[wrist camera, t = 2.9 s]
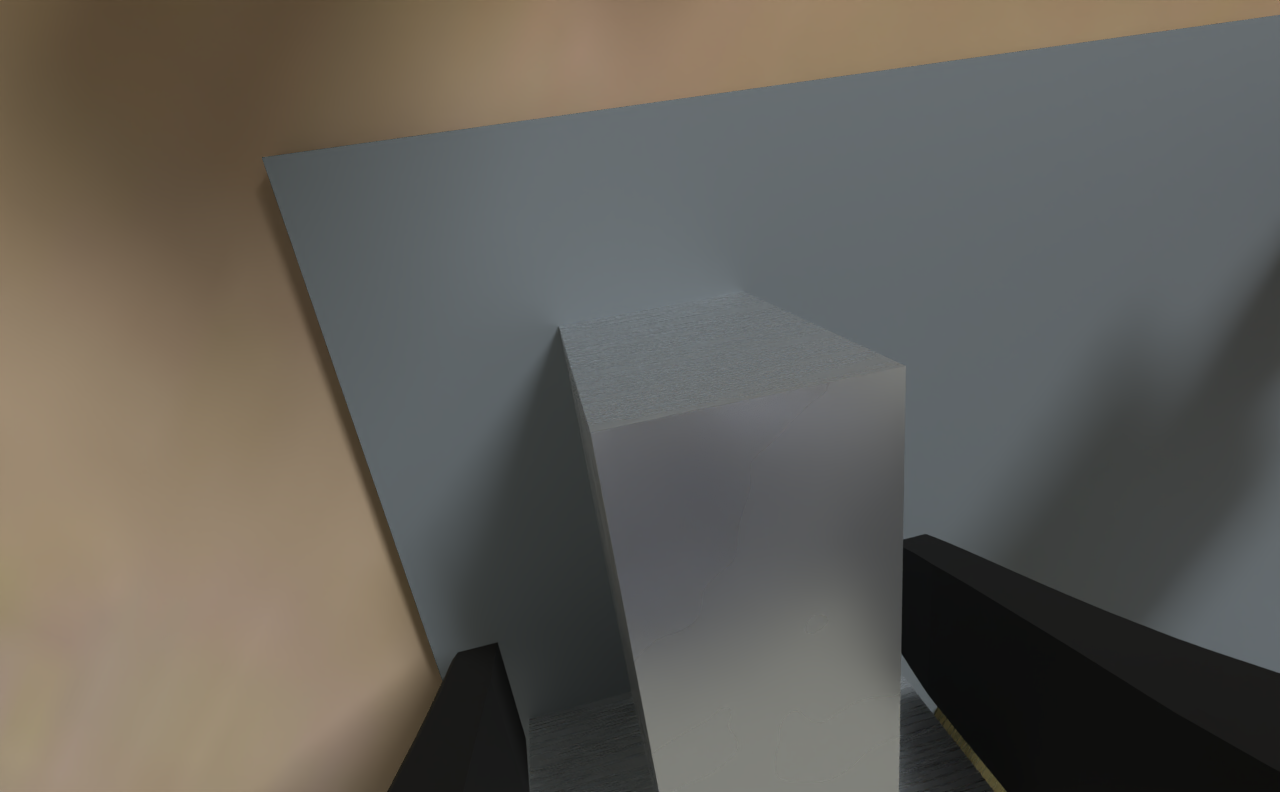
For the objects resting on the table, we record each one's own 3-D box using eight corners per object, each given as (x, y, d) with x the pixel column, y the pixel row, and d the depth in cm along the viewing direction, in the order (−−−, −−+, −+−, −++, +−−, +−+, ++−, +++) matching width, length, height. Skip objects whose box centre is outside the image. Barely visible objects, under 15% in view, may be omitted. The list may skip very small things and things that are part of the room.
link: (866, 848, 14) (993, 1088, 10) (591, 938, 13) (620, 1235, 9) (861, 269, 9) (1095, 325, 5) (423, 351, 8) (347, 484, 5)
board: (1285, 758, 17) (1302, 770, 17) (559, 1002, 14) (560, 1024, 14) (1551, -22, 10) (1590, -29, 10) (274, 158, 8) (261, 157, 7)
